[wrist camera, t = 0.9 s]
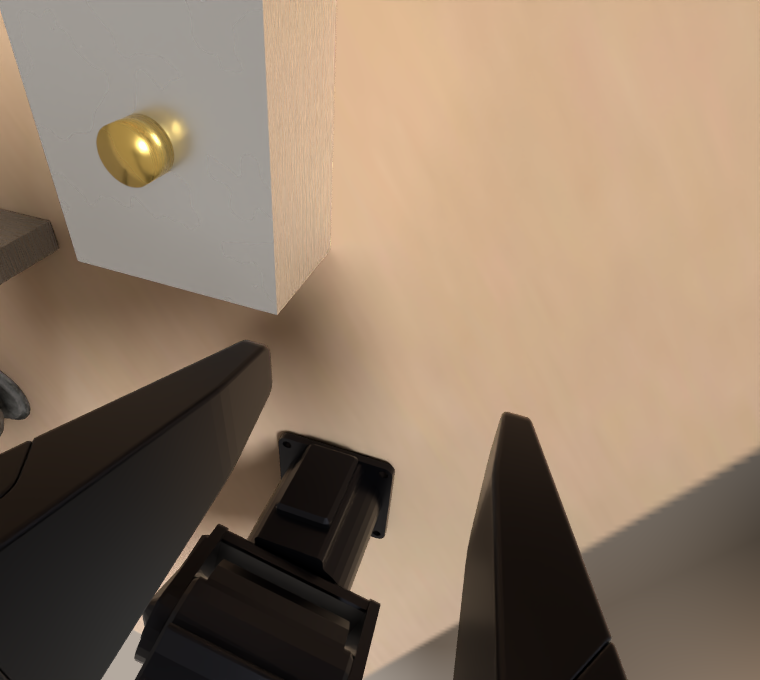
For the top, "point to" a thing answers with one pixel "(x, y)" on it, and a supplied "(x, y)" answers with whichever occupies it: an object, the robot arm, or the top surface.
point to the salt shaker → (11, 401)
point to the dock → (23, 242)
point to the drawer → (187, 136)
